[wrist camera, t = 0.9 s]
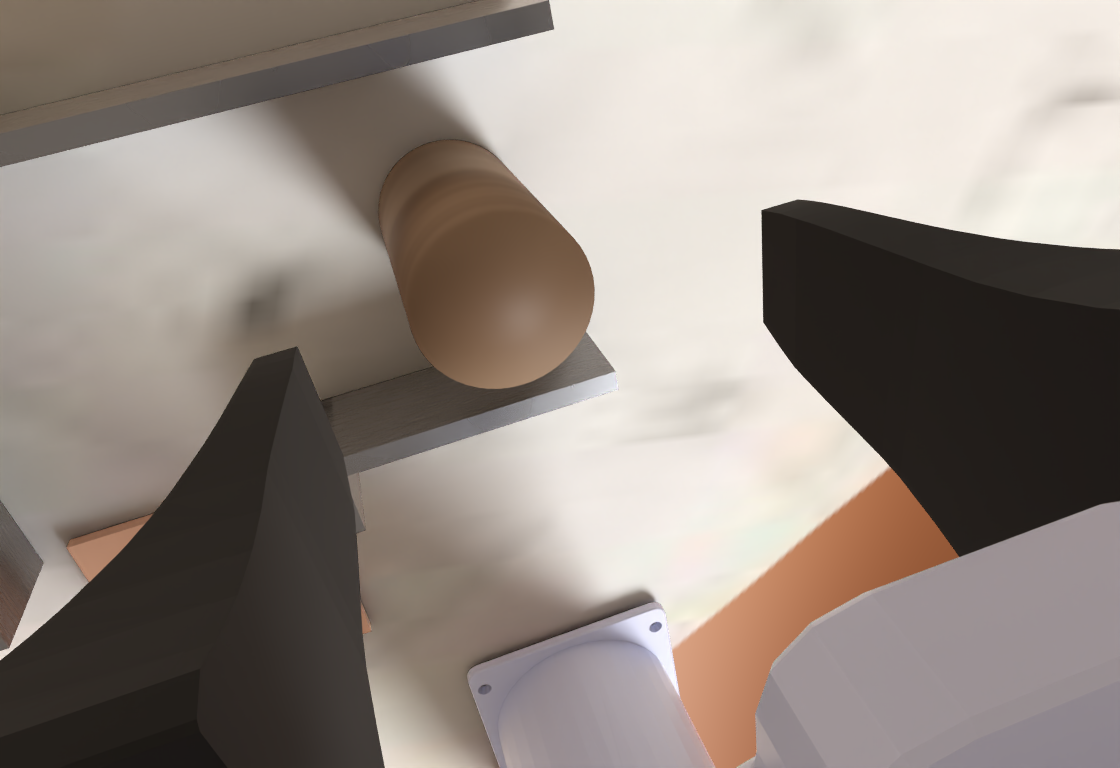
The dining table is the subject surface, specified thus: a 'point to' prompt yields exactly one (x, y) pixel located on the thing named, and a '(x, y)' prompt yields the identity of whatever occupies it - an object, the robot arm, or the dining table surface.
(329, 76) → the rail channel
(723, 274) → the dining table surface
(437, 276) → the walnut peg
